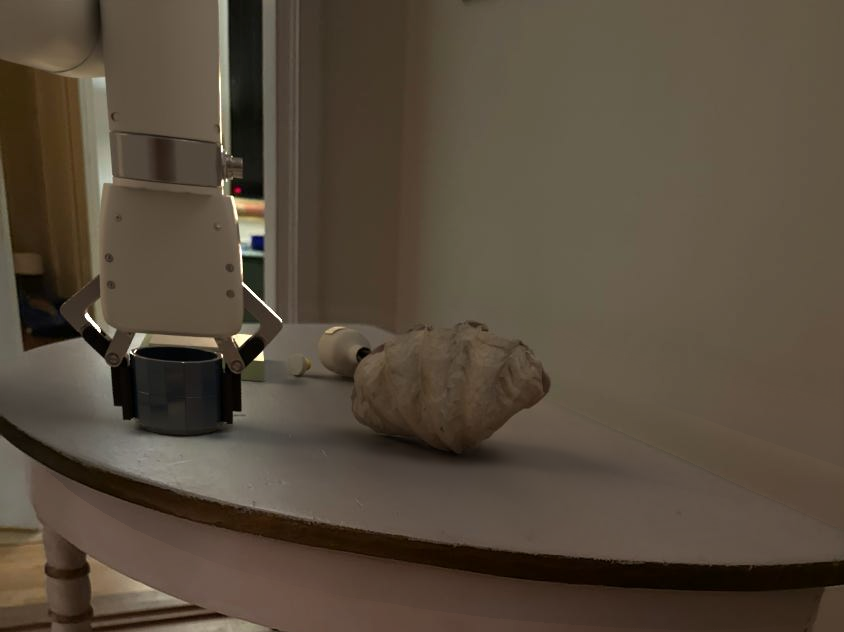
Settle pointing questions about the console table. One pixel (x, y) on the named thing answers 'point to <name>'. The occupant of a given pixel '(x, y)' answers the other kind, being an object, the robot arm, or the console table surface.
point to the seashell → (447, 385)
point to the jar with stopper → (335, 352)
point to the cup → (177, 389)
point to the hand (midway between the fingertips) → (179, 416)
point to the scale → (250, 372)
